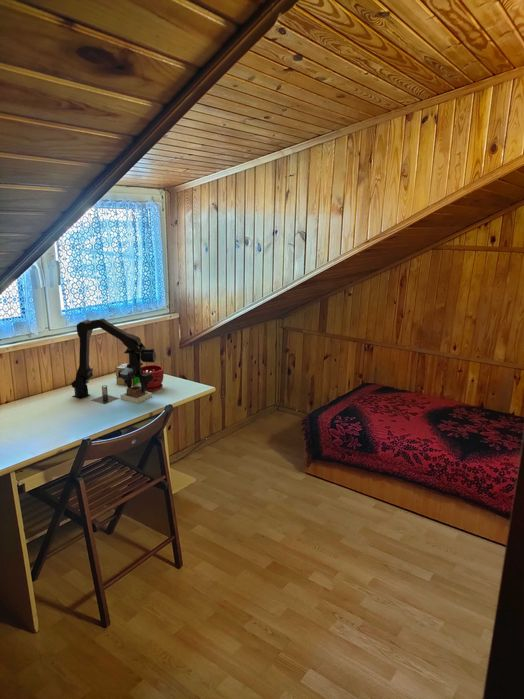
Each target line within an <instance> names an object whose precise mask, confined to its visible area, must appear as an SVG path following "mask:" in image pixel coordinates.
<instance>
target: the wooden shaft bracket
mask: <svg viewBox="0 0 524 699" xmlns="http://www.w3.org/2000/svg"><path fill="white" fill-rule="evenodd" d="M126 393H127V396H130V397H134V398H138V397H141V396H143V395H145V392H144V393H142V390H141V385H138V384H136V385H135V386H131V387H130V388H128V387H127V388H126Z"/></svg>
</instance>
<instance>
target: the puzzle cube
mask: <svg viewBox="0 0 524 699" xmlns="http://www.w3.org/2000/svg"><path fill="white" fill-rule="evenodd" d="M127 364H128V363H122V364H120V365H118V366H117V367H116V368H115V376H116V377H115V378H116V385H118V386H123V387H124V386H125V387H127V385H126V382H125V380H124V379H122V378H120V376H118V372H119V371H120V370H123V369H126V368H127ZM139 381H140V380H139V378H138V377H132V384H131V387H133V386H135V385H138V383H140V382H139Z"/></svg>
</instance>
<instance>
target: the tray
mask: <svg viewBox="0 0 524 699" xmlns="http://www.w3.org/2000/svg"><path fill="white" fill-rule="evenodd" d="M152 397H153V392H149V391H145V395H143V396H141V397H138V398H134V397H130V396H127V392H125V393H122V394H120V400H122V401H127V402H130V403H134V404H138V403H140V402H142V401H143V402H144V401H145V400H147V399H150V398H152Z"/></svg>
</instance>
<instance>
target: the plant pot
mask: <svg viewBox="0 0 524 699" xmlns="http://www.w3.org/2000/svg"><path fill="white" fill-rule="evenodd" d="M141 371H143V373H141V374H145V373H149V374H152V375H153V379H152V380H151V381H149V383H148V385H147V387H146V389H145V391H147V392H151V393H153V392H157V391H160V390H161V389H163V386H164V385H163V382H164V381H163V380H164V374H165V373H164V367H163V366H162V365H158V364H147V365H144V366H143V365H141Z"/></svg>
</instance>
